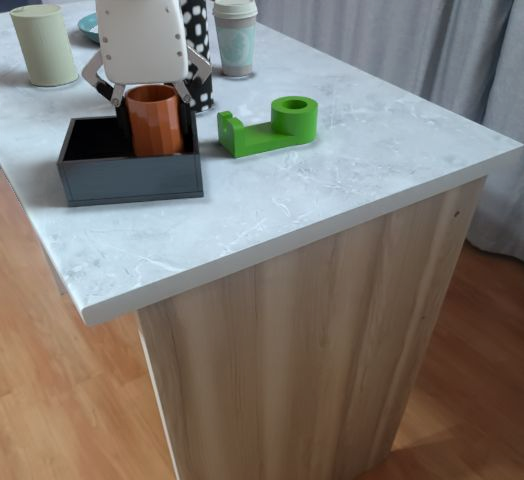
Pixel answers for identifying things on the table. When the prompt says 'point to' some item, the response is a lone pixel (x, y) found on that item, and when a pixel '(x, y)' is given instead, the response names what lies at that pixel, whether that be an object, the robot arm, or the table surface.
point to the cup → (154, 119)
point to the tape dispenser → (270, 127)
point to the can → (44, 44)
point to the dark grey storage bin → (124, 166)
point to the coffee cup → (235, 34)
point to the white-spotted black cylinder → (197, 49)
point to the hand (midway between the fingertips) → (156, 131)
